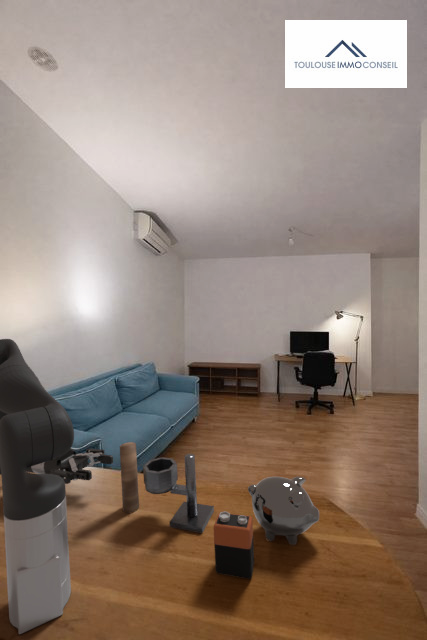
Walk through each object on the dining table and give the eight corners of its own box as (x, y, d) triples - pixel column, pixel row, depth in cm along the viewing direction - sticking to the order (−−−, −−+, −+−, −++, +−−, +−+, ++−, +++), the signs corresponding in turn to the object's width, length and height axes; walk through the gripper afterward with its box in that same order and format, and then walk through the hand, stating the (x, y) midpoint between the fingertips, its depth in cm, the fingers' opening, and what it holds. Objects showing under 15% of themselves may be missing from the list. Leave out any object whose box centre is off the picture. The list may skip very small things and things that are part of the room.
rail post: (141, 509, 77) (137, 446, 77) (125, 514, 75) (121, 450, 75) (136, 501, 81) (133, 441, 81) (121, 506, 79) (118, 444, 79)
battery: (220, 556, 61) (218, 506, 61) (254, 561, 59) (252, 510, 59) (215, 574, 57) (212, 521, 57) (251, 581, 55) (249, 525, 55)
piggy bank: (320, 560, 59) (317, 501, 59) (244, 544, 64) (241, 489, 64) (320, 522, 69) (318, 472, 69) (255, 511, 74) (253, 464, 74)
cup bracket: (140, 521, 73) (136, 458, 73) (156, 501, 80) (153, 444, 80) (202, 533, 68) (199, 465, 68) (213, 511, 75) (210, 450, 75)
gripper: (30, 459, 79) (81, 466, 74) (72, 438, 92) (117, 442, 87) (32, 488, 79) (83, 497, 74) (73, 462, 93) (119, 468, 87)
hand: (102, 467), depth 81 cm, fingers open, 8 cm apart
